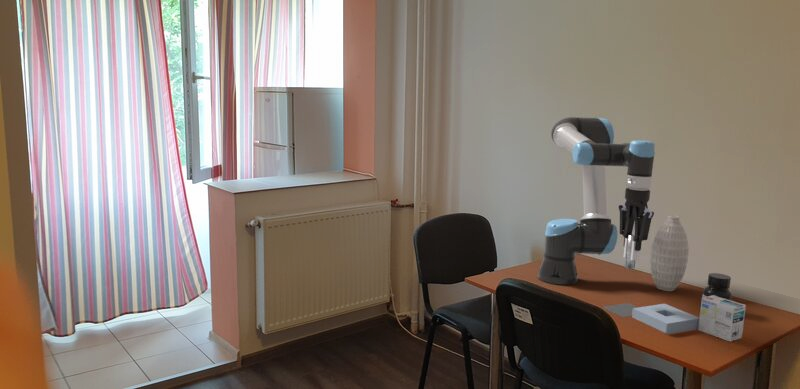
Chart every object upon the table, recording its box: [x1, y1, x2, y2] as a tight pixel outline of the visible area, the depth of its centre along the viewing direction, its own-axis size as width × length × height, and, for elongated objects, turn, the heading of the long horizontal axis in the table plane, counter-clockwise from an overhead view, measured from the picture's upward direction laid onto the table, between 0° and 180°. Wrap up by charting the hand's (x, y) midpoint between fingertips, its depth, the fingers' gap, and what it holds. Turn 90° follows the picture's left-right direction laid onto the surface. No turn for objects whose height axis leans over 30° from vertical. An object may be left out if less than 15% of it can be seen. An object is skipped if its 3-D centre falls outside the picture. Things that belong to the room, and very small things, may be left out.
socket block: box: [631, 303, 699, 335], centre depth 198 cm, size 14×14×4 cm
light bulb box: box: [697, 295, 747, 342], centre depth 190 cm, size 11×7×11 cm, turn 33°
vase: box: [650, 214, 689, 292], centre depth 232 cm, size 13×13×28 cm
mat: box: [601, 302, 638, 318], centre depth 209 cm, size 10×12×1 cm
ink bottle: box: [701, 272, 733, 301], centre depth 213 cm, size 10×9×12 cm
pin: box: [624, 233, 636, 270], centre depth 205 cm, size 3×3×11 cm
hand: (630, 258), depth 205 cm, fingers closed on pin, 2 cm apart
